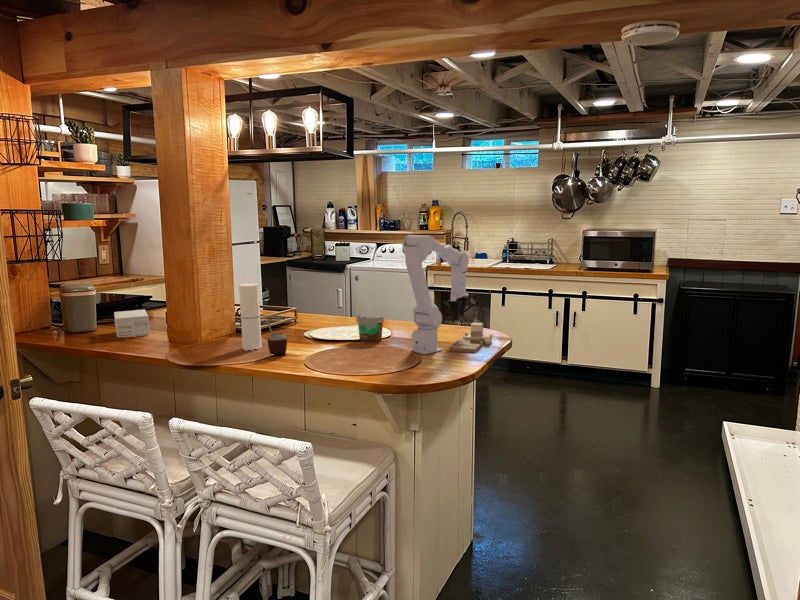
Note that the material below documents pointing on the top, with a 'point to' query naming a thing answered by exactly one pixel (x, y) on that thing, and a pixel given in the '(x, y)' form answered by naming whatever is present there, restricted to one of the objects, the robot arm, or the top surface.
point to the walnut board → (467, 345)
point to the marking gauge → (478, 334)
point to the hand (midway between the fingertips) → (458, 316)
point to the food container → (370, 328)
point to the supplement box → (131, 323)
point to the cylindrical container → (250, 316)
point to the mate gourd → (277, 343)
